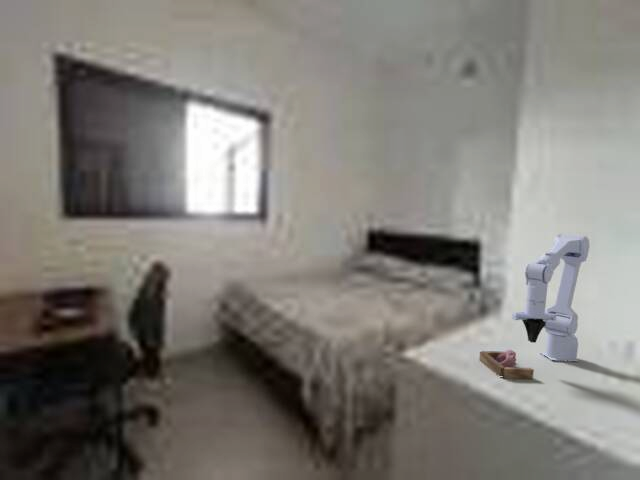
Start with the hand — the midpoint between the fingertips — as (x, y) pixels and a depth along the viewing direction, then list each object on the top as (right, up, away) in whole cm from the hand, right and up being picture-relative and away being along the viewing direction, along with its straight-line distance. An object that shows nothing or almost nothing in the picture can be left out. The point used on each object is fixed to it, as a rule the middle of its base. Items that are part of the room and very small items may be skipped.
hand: (531, 341), depth 141 cm
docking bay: (-9, -9, 0) cm, 13 cm away
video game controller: (-8, -9, +1) cm, 12 cm away
